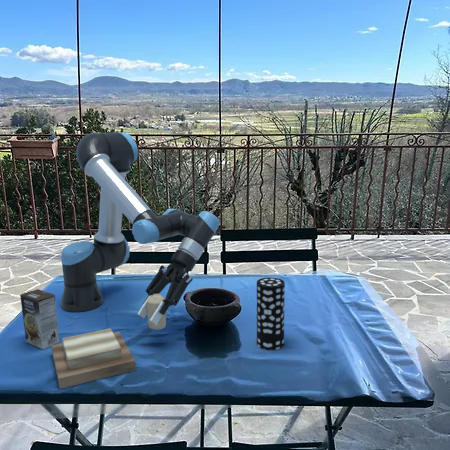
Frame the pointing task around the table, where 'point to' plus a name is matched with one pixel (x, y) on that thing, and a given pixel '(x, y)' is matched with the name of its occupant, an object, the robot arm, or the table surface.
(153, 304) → the candle
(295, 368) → the table surface
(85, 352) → the two-tier square platform
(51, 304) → the coffee box
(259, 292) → the white-spotted black cylinder
